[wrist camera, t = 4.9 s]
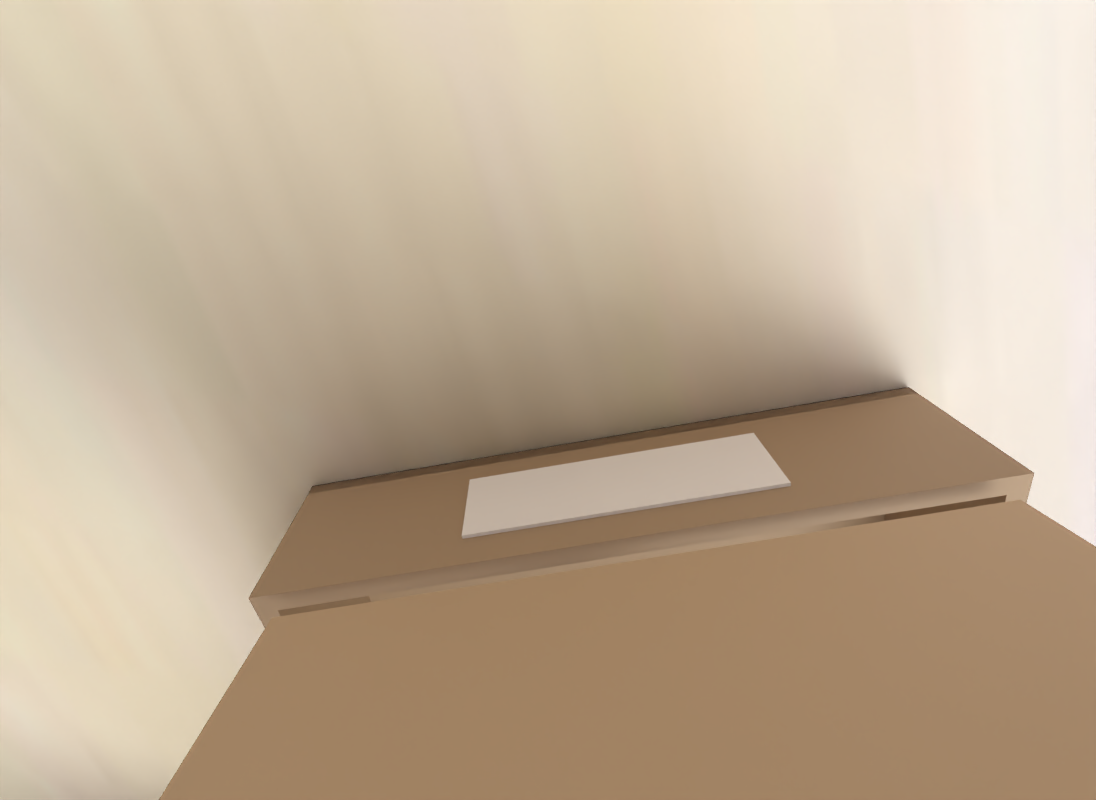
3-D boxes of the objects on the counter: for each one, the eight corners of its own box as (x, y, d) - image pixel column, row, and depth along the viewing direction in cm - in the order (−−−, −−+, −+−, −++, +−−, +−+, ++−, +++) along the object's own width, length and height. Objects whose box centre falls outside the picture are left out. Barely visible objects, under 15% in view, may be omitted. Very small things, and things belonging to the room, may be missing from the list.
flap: (72, 982, 7) (57, 962, 7) (277, 631, 13) (272, 617, 13) (1442, 796, 6) (1454, 772, 6) (1018, 515, 12) (1020, 499, 12)
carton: (448, 801, 25) (434, 934, 21) (311, 483, 17) (246, 595, 13) (861, 742, 24) (930, 867, 20) (908, 384, 16) (1035, 469, 12)
